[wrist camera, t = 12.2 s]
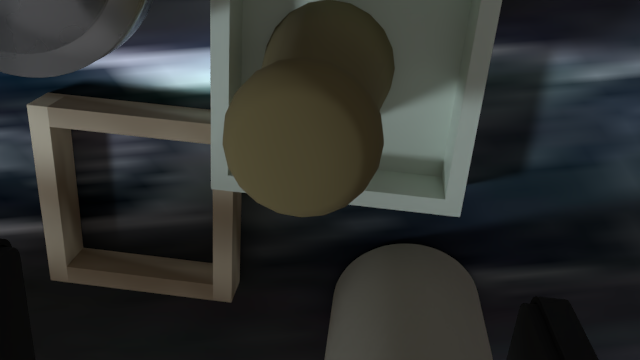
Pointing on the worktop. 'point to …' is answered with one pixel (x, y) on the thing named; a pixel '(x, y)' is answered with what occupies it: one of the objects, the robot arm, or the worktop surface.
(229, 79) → the tray
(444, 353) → the travel mug
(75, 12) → the grey pedestal stand
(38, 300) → the worktop surface
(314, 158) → the brown rounded lump
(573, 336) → the robot arm
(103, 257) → the socket
